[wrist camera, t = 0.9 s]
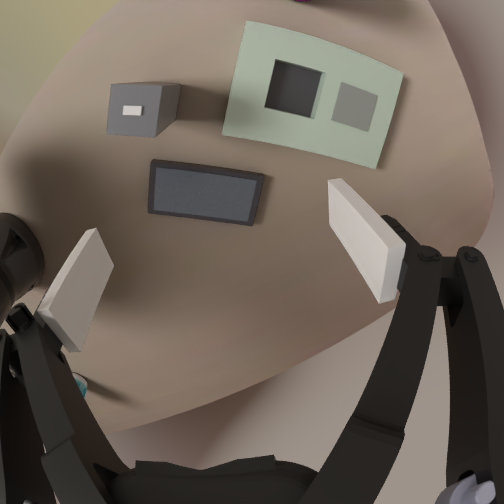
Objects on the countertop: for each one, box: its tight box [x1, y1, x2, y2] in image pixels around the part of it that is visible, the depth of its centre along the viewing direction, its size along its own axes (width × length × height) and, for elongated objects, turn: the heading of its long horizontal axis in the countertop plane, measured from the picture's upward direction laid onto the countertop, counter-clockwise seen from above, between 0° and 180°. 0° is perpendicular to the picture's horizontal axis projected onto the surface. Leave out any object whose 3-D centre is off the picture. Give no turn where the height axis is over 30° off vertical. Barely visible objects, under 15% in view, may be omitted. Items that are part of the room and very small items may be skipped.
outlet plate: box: [222, 20, 404, 169], centre depth 29 cm, size 20×14×2 cm
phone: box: [148, 159, 264, 226], centre depth 36 cm, size 14×7×1 cm, turn 78°
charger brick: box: [106, 82, 181, 138], centre depth 24 cm, size 4×4×11 cm
